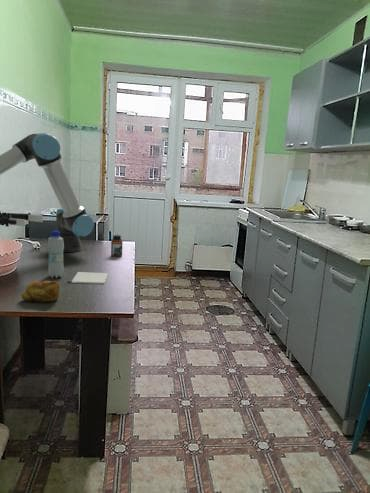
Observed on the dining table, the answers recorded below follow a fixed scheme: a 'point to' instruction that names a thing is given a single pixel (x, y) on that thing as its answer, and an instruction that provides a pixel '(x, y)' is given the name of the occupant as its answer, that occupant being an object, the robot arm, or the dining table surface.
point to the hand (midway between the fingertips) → (34, 220)
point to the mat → (88, 278)
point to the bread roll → (41, 291)
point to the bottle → (55, 255)
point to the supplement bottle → (116, 246)
